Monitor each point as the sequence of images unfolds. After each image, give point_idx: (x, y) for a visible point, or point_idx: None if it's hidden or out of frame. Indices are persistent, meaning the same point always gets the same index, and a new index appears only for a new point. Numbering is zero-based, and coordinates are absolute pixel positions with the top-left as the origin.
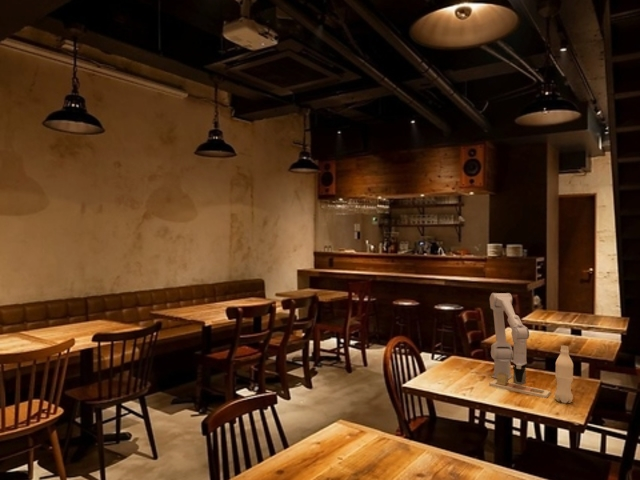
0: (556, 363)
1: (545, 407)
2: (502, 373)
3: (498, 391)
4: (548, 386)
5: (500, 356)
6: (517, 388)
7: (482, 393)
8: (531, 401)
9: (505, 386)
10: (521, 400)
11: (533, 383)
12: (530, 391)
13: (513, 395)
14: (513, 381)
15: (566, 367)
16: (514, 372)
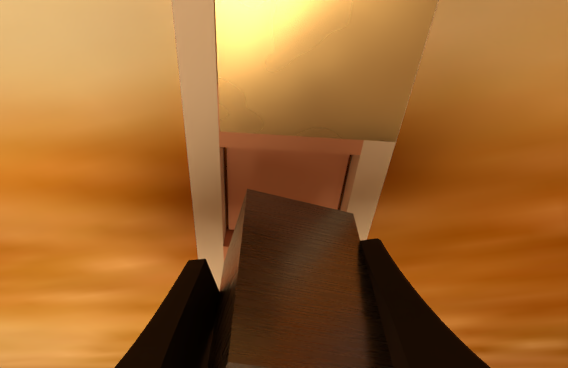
0: None
1: (35, 353)
2: (375, 30)
3: (24, 12)
4: (503, 316)
5: None
6: (300, 173)
7: None
8: (60, 296)
9: (196, 78)
10: (4, 251)
11: (559, 240)
12: None
13: (61, 183)
14: (245, 202)
15: None
16: (227, 335)
